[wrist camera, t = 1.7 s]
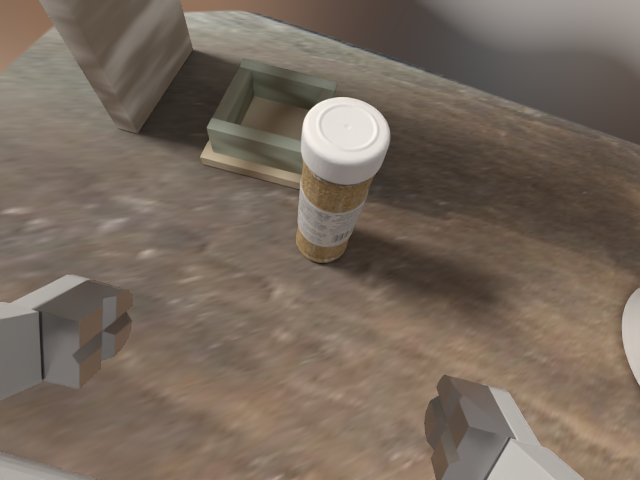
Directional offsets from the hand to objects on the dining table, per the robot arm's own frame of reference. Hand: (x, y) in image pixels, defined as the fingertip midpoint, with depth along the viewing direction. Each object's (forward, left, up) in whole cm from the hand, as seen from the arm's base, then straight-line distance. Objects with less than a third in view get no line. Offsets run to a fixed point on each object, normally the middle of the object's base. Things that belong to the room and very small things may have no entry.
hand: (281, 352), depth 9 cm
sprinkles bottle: (0, -12, -17) cm, 21 cm away
